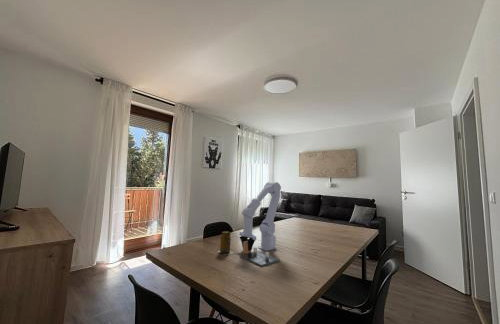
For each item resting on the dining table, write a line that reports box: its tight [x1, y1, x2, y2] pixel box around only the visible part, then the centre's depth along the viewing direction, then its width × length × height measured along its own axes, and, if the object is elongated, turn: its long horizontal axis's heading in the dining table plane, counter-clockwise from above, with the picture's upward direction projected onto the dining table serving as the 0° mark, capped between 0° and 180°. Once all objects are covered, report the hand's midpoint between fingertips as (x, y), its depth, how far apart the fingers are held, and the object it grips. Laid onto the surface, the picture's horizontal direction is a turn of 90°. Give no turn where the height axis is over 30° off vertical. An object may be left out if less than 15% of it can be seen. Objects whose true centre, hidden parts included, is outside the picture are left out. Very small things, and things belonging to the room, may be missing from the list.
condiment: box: [216, 231, 234, 256], centre depth 130 cm, size 7×8×12 cm
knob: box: [242, 241, 252, 254], centre depth 133 cm, size 5×5×6 cm
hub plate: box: [239, 247, 281, 268], centre depth 121 cm, size 14×18×5 cm
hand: (247, 249), depth 133 cm, fingers closed on knob, 5 cm apart
